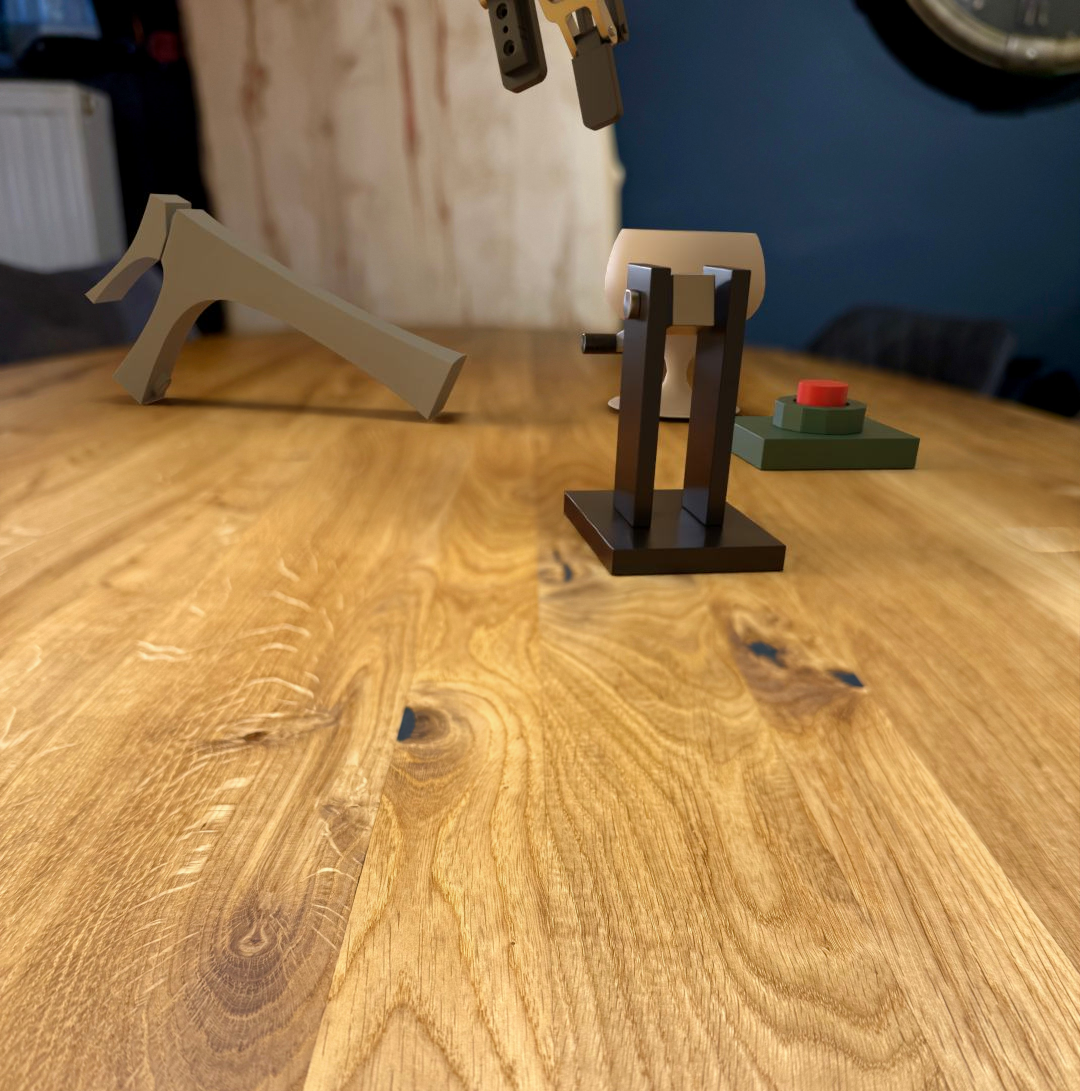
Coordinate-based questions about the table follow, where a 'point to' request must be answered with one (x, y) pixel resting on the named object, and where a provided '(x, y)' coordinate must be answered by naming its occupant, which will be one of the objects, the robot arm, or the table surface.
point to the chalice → (683, 257)
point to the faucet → (262, 283)
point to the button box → (821, 439)
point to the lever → (669, 313)
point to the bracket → (700, 507)
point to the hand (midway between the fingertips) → (568, 106)
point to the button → (822, 393)
